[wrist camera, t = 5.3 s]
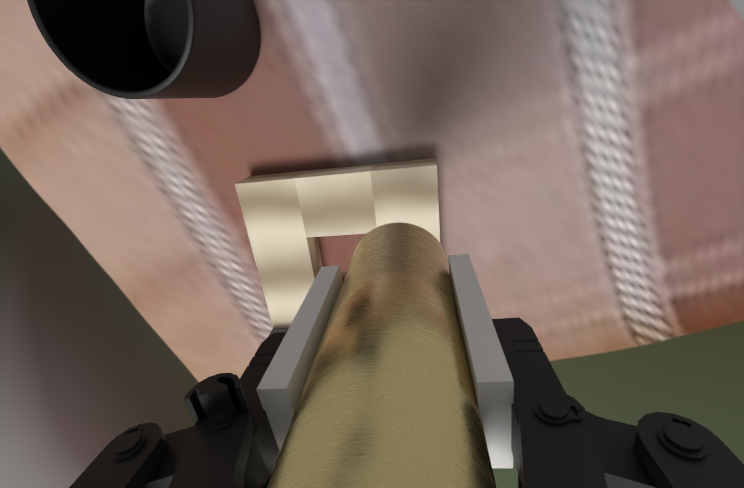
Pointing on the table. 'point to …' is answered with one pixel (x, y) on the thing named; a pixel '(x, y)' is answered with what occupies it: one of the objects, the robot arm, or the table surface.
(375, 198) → the jig
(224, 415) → the robot arm
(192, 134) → the table surface
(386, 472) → the pale yellow cylinder
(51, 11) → the mug
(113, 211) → the table surface
